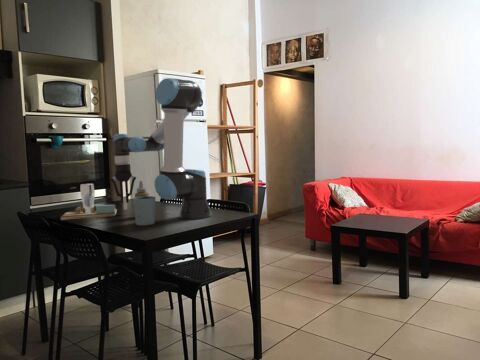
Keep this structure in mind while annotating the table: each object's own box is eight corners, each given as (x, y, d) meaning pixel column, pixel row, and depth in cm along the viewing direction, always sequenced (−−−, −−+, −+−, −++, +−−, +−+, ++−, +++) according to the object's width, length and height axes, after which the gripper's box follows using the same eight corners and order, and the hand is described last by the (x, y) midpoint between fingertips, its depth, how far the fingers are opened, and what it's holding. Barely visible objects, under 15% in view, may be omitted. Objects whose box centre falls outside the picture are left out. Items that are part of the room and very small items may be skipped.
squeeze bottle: (147, 218, 206) (145, 181, 205) (131, 218, 208) (129, 182, 206) (153, 215, 214) (151, 180, 213) (139, 215, 216) (136, 180, 214)
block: (114, 212, 218) (114, 205, 218) (96, 214, 216) (96, 206, 216) (115, 212, 220) (114, 204, 220) (97, 213, 218) (96, 205, 217)
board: (114, 216, 217) (114, 208, 216) (60, 220, 211) (60, 212, 210) (116, 211, 233) (116, 204, 233) (66, 214, 227) (66, 207, 227)
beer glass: (98, 211, 226) (96, 183, 225) (90, 213, 220) (88, 184, 218) (87, 211, 228) (85, 183, 227) (79, 213, 222) (77, 185, 220)
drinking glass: (134, 226, 188) (133, 199, 186) (133, 222, 197) (132, 196, 196) (157, 224, 190) (156, 197, 189) (155, 220, 200) (154, 195, 199)
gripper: (135, 163, 223) (138, 207, 225) (109, 164, 220) (112, 208, 222) (135, 163, 216) (138, 209, 218) (108, 164, 213) (111, 211, 215)
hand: (125, 209), depth 220 cm, fingers closed
